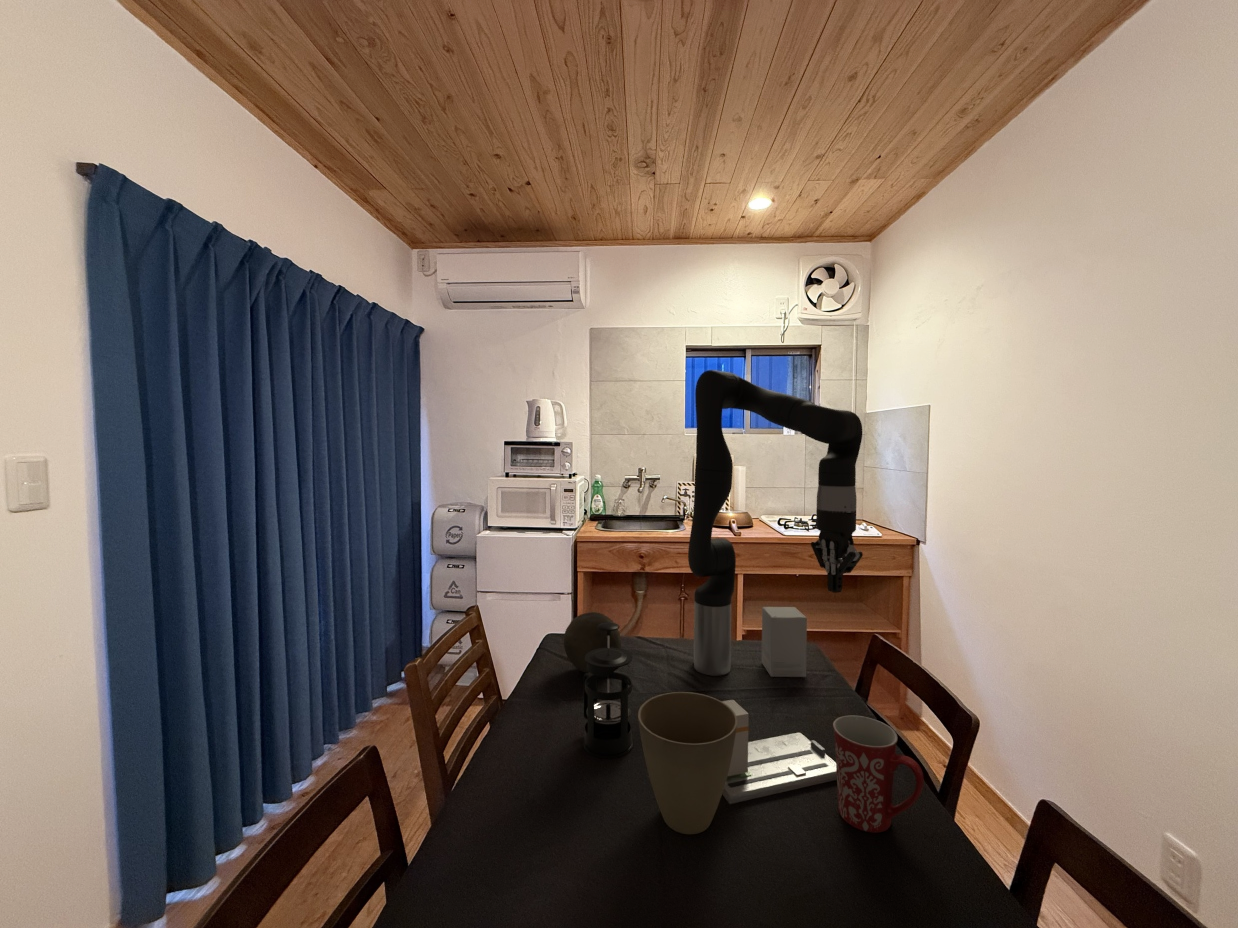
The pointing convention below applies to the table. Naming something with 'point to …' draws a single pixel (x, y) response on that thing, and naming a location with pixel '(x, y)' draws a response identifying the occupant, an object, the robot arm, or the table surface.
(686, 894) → the table surface
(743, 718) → the fader knob
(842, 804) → the mug
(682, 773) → the plant pot
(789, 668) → the supplement box
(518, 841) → the table surface
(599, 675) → the french press
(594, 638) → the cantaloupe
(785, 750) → the console
